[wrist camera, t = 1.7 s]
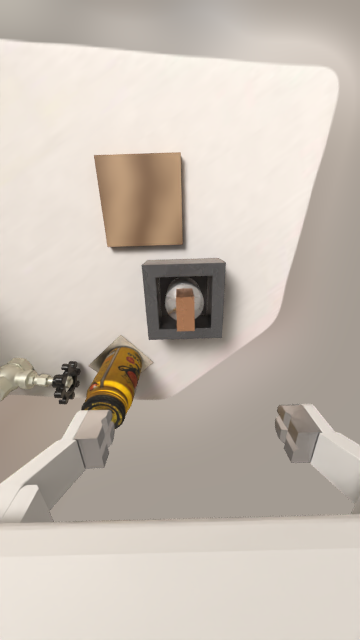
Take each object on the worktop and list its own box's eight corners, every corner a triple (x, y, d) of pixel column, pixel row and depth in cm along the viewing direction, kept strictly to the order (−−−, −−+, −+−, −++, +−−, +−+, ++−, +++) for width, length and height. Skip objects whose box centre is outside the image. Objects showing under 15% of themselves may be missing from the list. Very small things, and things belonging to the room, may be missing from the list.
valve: (13, 380, 38) (82, 385, 38) (-18, 409, 32) (63, 414, 32) (5, 348, 35) (78, 353, 36) (-31, 372, 29) (57, 378, 30)
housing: (152, 325, 34) (148, 339, 29) (147, 260, 30) (141, 265, 25) (215, 323, 34) (221, 337, 29) (218, 258, 30) (225, 262, 25)
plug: (167, 309, 33) (164, 335, 24) (166, 277, 31) (161, 293, 22) (200, 308, 33) (207, 334, 24) (200, 276, 31) (208, 292, 22)
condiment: (153, 361, 36) (142, 418, 25) (121, 389, 38) (98, 452, 27) (121, 334, 34) (93, 382, 23) (88, 364, 36) (49, 422, 25)
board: (109, 246, 29) (107, 246, 28) (97, 158, 25) (93, 155, 24) (182, 244, 29) (182, 244, 28) (180, 155, 25) (180, 152, 24)
